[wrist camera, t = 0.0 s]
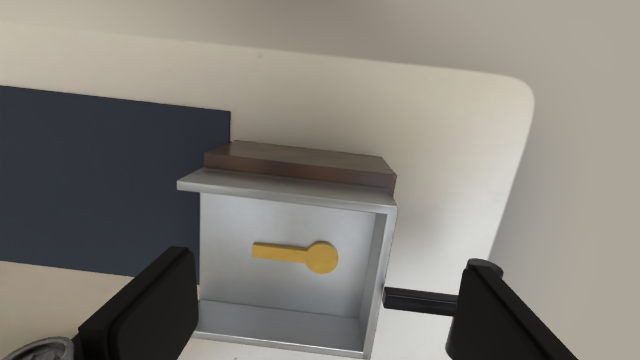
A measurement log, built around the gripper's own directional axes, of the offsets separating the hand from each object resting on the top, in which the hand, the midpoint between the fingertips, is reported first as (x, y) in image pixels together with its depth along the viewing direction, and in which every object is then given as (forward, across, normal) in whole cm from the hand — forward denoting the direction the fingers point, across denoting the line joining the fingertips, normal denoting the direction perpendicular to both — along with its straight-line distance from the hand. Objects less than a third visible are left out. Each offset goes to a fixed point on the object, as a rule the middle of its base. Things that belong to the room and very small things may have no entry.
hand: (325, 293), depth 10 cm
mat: (+18, +28, +3) cm, 33 cm away
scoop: (+11, 0, +4) cm, 12 cm away
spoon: (+11, +2, +4) cm, 12 cm away
